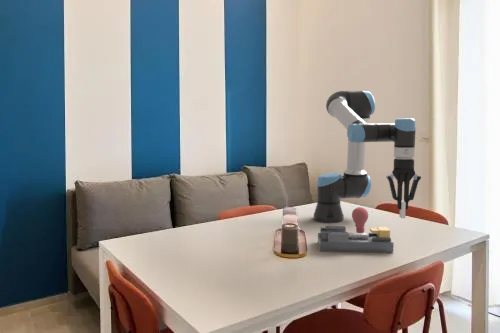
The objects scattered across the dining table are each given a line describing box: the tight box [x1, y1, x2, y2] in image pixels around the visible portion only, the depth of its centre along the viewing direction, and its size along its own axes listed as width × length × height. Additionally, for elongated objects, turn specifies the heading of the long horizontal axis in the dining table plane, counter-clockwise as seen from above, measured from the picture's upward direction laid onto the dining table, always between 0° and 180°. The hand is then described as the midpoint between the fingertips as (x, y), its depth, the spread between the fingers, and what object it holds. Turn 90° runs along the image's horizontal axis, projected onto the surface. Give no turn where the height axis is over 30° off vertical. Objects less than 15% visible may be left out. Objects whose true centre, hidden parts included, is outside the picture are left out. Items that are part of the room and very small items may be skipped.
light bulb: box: [351, 206, 369, 233], centre depth 186 cm, size 7×7×12 cm
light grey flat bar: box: [348, 232, 369, 238], centre depth 168 cm, size 18×3×1 cm, turn 85°
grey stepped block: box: [317, 225, 394, 253], centre depth 168 cm, size 28×12×7 cm, turn 85°
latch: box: [369, 226, 391, 238], centre depth 166 cm, size 7×5×4 cm
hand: (402, 217), depth 165 cm, fingers closed
